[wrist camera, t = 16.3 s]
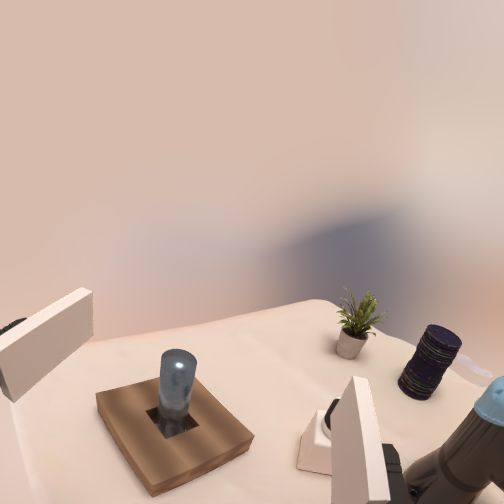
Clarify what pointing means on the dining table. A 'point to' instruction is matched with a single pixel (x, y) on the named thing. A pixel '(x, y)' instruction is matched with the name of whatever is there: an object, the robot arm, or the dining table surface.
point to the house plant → (355, 328)
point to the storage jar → (429, 362)
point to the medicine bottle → (317, 443)
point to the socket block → (174, 448)
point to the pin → (175, 391)
